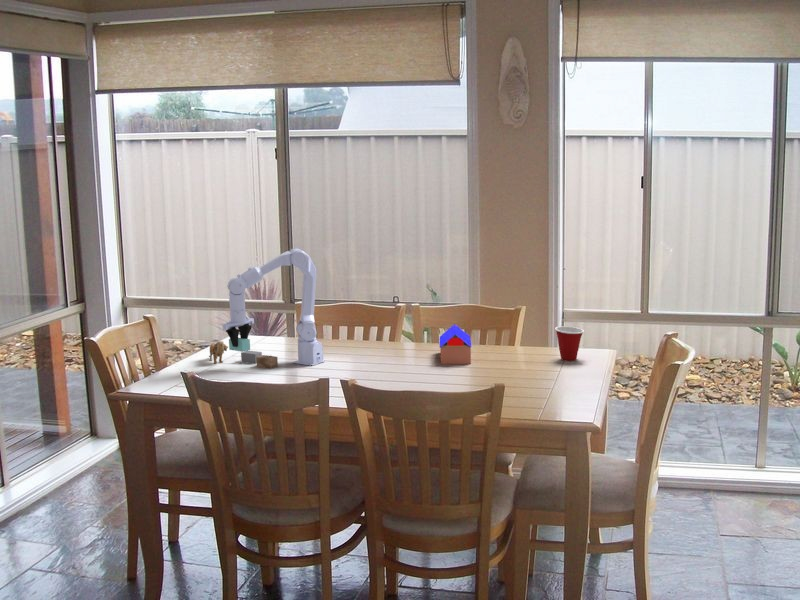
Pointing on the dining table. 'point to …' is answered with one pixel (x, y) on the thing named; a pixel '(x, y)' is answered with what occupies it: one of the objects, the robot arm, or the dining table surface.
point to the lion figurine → (217, 351)
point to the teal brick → (240, 345)
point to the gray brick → (250, 356)
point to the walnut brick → (267, 361)
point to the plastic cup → (568, 342)
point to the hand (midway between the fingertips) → (239, 345)
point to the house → (455, 346)
